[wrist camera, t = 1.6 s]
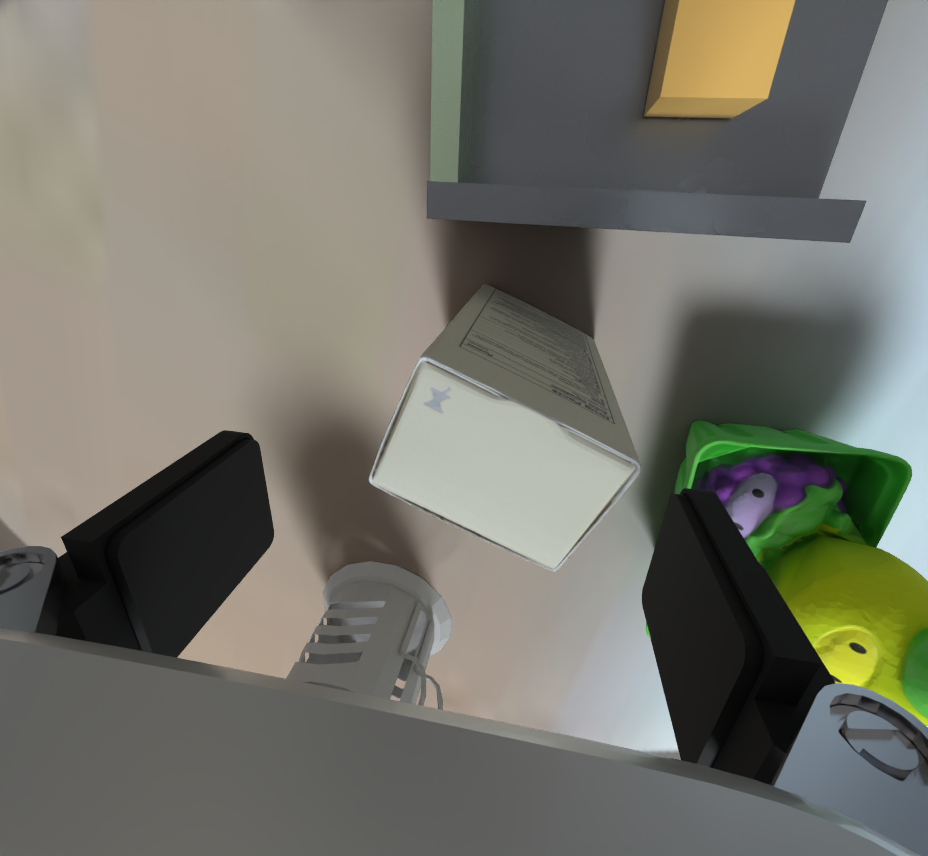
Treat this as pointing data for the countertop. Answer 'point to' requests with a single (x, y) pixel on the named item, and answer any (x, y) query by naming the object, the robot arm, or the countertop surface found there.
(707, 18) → the slider
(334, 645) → the french press
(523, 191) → the box
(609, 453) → the skincare box
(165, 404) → the countertop surface
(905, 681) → the fruit basket
